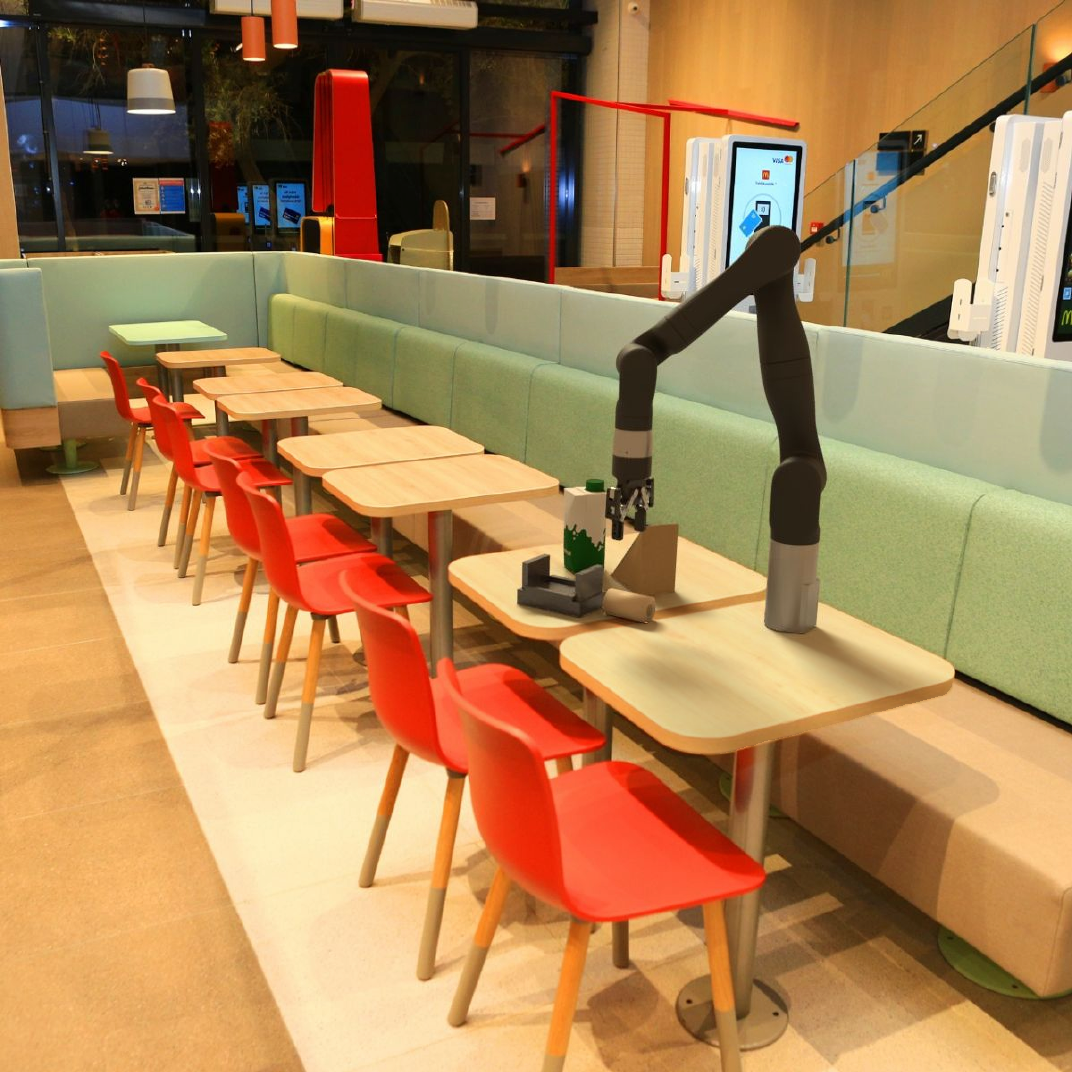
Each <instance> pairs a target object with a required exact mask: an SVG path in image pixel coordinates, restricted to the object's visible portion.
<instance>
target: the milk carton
mask: <svg viewBox="0 0 1072 1072" xmlns="http://www.w3.org/2000/svg"><path fill="white" fill-rule="evenodd" d="M606 493H607V490H606V489H605V480H603V479H599V478H598V479H596V478H591V479H589V478H588V479H586V480H585V486H574V487H564V488H563V501H564V502H563V545H562V546H563V566H564V565H565V566H566V567H565V566H564V567H565V568H566V569H568V570H569V571H570V570H571V571H572V572H573V573H572V572H571V571H570V572H571V573H572V574H574V575H576V573H578V572H581V571H583V570H585V569H588V568H590V567H592V566H595V565H597V564H598V565H602V566H603V573H604V572H605V559H606V558H605V557H606V534H607V533H606V530H607V518H605V508H606Z"/></svg>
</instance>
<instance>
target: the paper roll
mask: <svg viewBox="0 0 1072 1072" xmlns="http://www.w3.org/2000/svg"><path fill="white" fill-rule="evenodd" d="M606 591H607V592H606V593H605V595H604V598H603V607H602V610H603V613H604V614H606V615H608V616H609V615H610V616H613V617H617V618H621V619H622V618H623V619H626V620H632V621H635V622H639V623H644V624H646V623H645V622H648V623H650V622H651V621H652V620H653V618H654V616H655V613H656V609H657V607H656V605H657V604H656V600H655V597H653V596H651V595H641V594H637V593H636V592H630V591H626V590H621V589H617V588H612V587H611V588H609V589H607V590H606Z"/></svg>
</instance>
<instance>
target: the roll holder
mask: <svg viewBox="0 0 1072 1072" xmlns="http://www.w3.org/2000/svg"><path fill="white" fill-rule="evenodd" d="M550 572H551V554H548V553H543V554H540V555H537V556H535V557H533V558H530V559H527V560H524V561H522V563H521V587H519V588H517V590H516V591H517V595H516V596H517V597H516V602H517V604H519V605H524V606H528V607H532V608H536V609H540V610H545V611H548V612H552V613H557V614H561V615H564V616H570V617H574V618H578V619H580V618H582V617H584V616H587V615H588V614H591V613H592V612H593V613H594V612H595V611H597V610H599V609H602V608H603V598H604V595H605V593H606V592H607V590H603V588H604V587H603V583H604V582H603V581H604V580H603V578H604V572H603V566H602V565H598V564H597V565H595V566H592V567H590V568H588V569H585V570H583V571H581V572H578V573H576V574H575V579H574V578H571V577H570V578H569V577H566V576H561V575H557V574H551V573H550Z"/></svg>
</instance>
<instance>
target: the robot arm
mask: <svg viewBox="0 0 1072 1072" xmlns="http://www.w3.org/2000/svg"><path fill="white" fill-rule="evenodd" d="M744 247H745V248H744V251H743V252H742V253H741V254H739V256H738V257H737V259H735V261H734V262H732V263H731V264H730V265H729V266H728V267H727V268H726V269H725V270H723V271H722V272H721V273H720V274H719V275H717V276H716V277H714V278H713V279H712V280H710V281H709V282H708V283H706V284H705V285H704V286H702V287H700V288H699V289H698V290H696V291H695V292H693V293H692V294H691V295H690V296H688V297H686V298H685V299H684V300H683V301H681V302H680V303H679V304H677V305H676V307H675V306H674V308H672V309H671V310H670V311H668V313H667V314H665V316H663V317H662V318H661V319H659V321H658V322H657V323H655V324H654V325H653V326H652V327H650V328H648V329H647V330H645V331H644V332H642V333H641V334H639V335H638V336H636V337H635V338H633V339H632V340H631V341H629V342H628V343H627V344H625V345H624V347H622V348H621V350H619V352H618V354H617V356H616V360H615V368H616V371H617V372H618V375H619V376H618V378H619V379H618V380H619V381H618V384H619V385H618V398H617V401H616V405H615V410H614V411H615V412H614V413H615V415H614V417H615V418H614V432H613V437H612V450H611V451H612V456H611V476H612V477H614V478H616V480H617V482H616V486H615V487H613V486H612V487H611V486H607V488H606V492H607V493H606V508H605V518H606V520H607V519H608V520H610V521H611V531H610V532H611V534H610V535H611V539H612V540H613V541H618V542H620V541H622V540H623V539H624V532H625V530H624V529H625V527H624V526H625V521H624V519H625V517H626V515H627V513H628V512H630V511H631V508H632V507H633V508H634V510H635V512H634V521H633V522H634V524H633V530H634V531H636V532H639V533H640V532H643V531H645V530H646V526H647V513H648V512H649V511H650V508H651V509H652V508H653V507H654V506H655V502H654V500H655V499H654V498H655V478H654V477H652V471H653V469H652V467H653V449H654V438H653V423H654V422H653V421H654V420H653V419H654V417H653V416H654V397H655V393H656V385H657V378H658V367H659V366H660V365H661V364H662V363H664V362H665V361H666V360H668V359H669V358H670V357H672V356H673V355H678V354H680V353H681V352H683V351H684V350H685V349H687V348H688V347H689V346H691V345H692V344H693V343H694V342H695V341H697V340H698V339H700V337H701V336H703V335H704V334H705V333H706V332H707V331H709V330H710V329H711V328H713V326H714V325H715V324H717V323H718V322H719V321H720V320H722V318H723V317H725V316H726V315H727V314H728V313H729V312H730V311H731V310H733V309H734V307H736V306H737V305H739V303H741V302H743V300H745V299H747V298H748V297H749V296H751V295H752V294H753V300H754V305H755V311H756V313H755V314H756V335H757V344H758V345H757V347H758V356H759V357H758V358H759V367H760V368H759V369H760V374H761V380H762V381H761V382H762V387H763V392H764V395H765V399H766V401H767V404H768V407H769V410H770V412H771V415H772V417H773V420H774V424H775V426H776V430H777V436H778V445H779V446H778V447H779V465H778V466H777V467H776V469H775V470H774V472H773V475H772V477H771V483H770V491H769V492H770V493H769V494H770V495H769V515H768V523H769V528H770V530H769V531H770V532H769V547H768V548H769V550H768V559H767V561H768V563H767V574H766V575H767V576H766V577H767V578H766V587H765V603H764V613H763V614H764V619H763V623H765V624H766V625H765V624H764V625H765V627H767V626H768V627H767V628H769V629H771V628H772V630H774V629H777V630H776V631H778V630H780V631H779V632H783V631H786V632H785V633H799V632H801V633H800V634H806V633H808V632H809V631H810V630H812V629H813V628H814V626H815V625H816V626H817V620H818V609H819V599H820V598H819V596H820V589H821V588H820V586H821V579H820V578H819V577H817V576H818V565H819V564H818V563H819V553H820V541H821V526H820V514H821V513H820V512H821V511H820V510H821V498H822V496H821V495H822V493H823V492H824V490H825V487H826V485H827V480H828V474H827V473H828V472H827V468H826V464H825V460H824V457H823V452H822V448H821V442H820V439H819V434H818V433H819V432H818V428H817V421H816V420H817V418H816V416H817V415H816V400H815V399H816V398H815V387H814V372H813V364H812V358H811V350H810V346H809V341H808V337H807V334H806V330H805V328H804V325H803V322H802V320H801V317H800V314H799V313H800V312H799V310H798V307H797V303H796V297H795V288H794V286H795V284H794V268H795V267H796V266H797V264H798V262H799V260H800V257H801V254H802V244H801V240H800V238H799V236H798V235H797V233H796V232H795V231H794V230H793V229H791V228H790V227H787V226H785V225H780V224H771V225H767V226H765V227H762V228H760V229H757V231H755V232H754V233H753V234H752V235H751V236H750V237H749V239H748V240H747V242H746V245H745V246H744ZM611 509H612V510H611ZM816 626H815V627H816ZM812 627H813V628H812ZM811 628H812V629H811ZM809 629H810V630H809ZM808 630H809V631H808ZM807 631H808V632H807Z"/></svg>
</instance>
